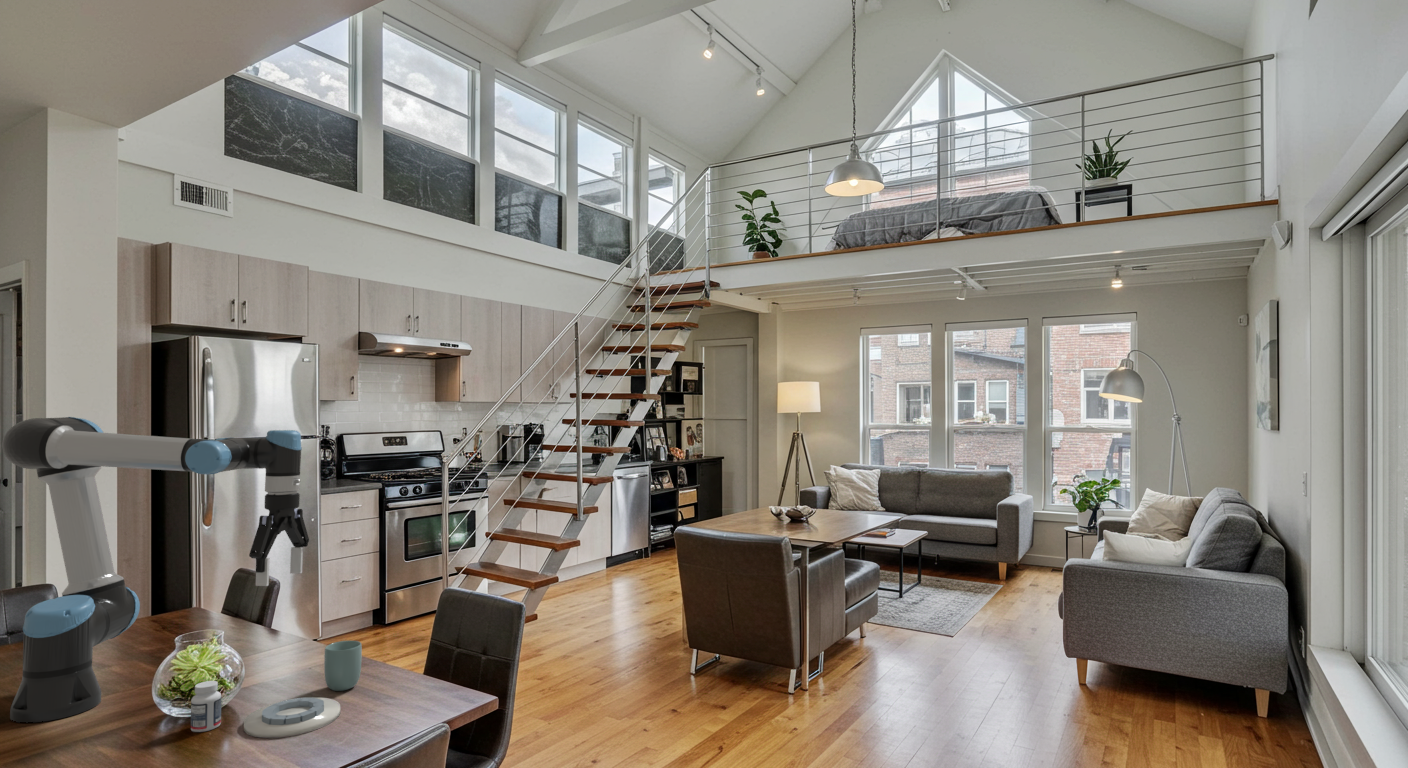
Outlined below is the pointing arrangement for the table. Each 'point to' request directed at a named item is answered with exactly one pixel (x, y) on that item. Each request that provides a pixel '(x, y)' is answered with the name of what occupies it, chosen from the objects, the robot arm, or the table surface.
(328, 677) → the cup
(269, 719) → the tray
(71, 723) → the table surface
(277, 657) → the table surface
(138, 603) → the robot arm
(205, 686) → the pill bottle
